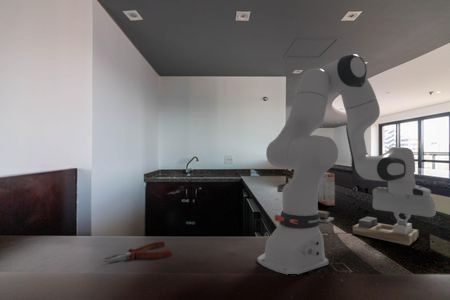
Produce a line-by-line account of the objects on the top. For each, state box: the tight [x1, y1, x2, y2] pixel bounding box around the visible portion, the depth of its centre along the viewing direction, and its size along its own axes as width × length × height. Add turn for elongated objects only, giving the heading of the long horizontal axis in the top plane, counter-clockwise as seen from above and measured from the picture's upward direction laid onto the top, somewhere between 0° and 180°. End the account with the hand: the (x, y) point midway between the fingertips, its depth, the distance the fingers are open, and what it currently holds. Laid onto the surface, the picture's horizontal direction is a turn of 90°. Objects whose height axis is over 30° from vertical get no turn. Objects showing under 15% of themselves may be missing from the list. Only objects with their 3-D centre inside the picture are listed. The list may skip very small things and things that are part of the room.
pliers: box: [104, 241, 173, 263], centre depth 85 cm, size 12×20×3 cm, turn 119°
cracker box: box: [318, 171, 336, 207], centre depth 172 cm, size 14×6×21 cm, turn 1°
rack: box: [352, 216, 419, 246], centre depth 104 cm, size 13×20×6 cm
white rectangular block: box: [393, 222, 413, 236], centre depth 99 cm, size 9×4×4 cm, turn 132°
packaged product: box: [318, 210, 335, 224], centre depth 133 cm, size 18×5×10 cm
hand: (402, 224), depth 99 cm, fingers closed, pressing on white rectangular block
